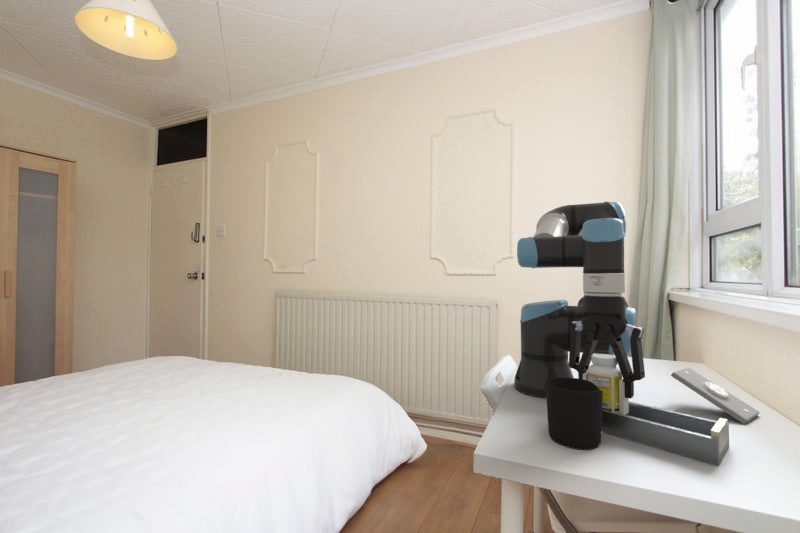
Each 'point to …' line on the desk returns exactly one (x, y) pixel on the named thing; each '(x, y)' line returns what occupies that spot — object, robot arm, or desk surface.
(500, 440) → the desk surface
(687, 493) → the desk surface
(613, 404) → the pill bottle
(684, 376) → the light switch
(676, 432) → the rail
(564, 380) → the pen holder
